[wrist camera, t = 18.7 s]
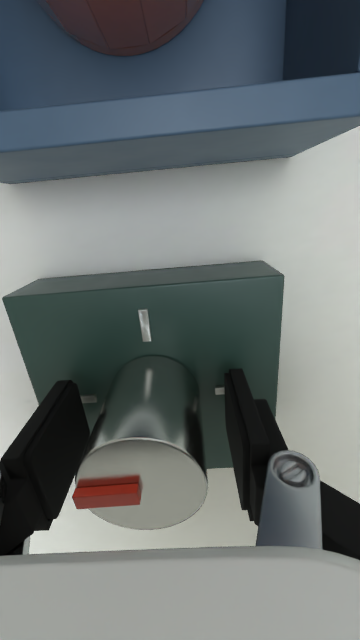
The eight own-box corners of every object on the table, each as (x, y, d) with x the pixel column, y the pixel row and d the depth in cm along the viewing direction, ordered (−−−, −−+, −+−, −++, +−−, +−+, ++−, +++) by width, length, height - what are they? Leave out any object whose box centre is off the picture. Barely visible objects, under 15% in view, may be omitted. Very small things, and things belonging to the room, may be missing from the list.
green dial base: (258, 423, 17) (274, 468, 14) (82, 433, 17) (62, 479, 14) (263, 260, 13) (286, 275, 10) (38, 278, 13) (-2, 299, 11)
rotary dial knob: (195, 350, 11) (203, 441, 7) (203, 424, 13) (213, 537, 9) (102, 359, 12) (52, 453, 7) (120, 431, 13) (89, 545, 9)
